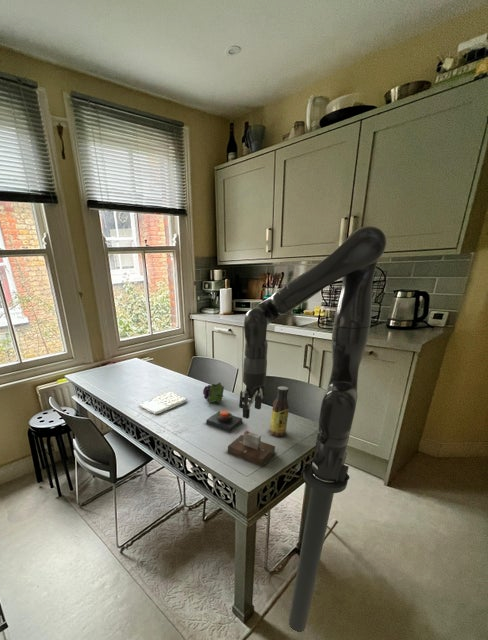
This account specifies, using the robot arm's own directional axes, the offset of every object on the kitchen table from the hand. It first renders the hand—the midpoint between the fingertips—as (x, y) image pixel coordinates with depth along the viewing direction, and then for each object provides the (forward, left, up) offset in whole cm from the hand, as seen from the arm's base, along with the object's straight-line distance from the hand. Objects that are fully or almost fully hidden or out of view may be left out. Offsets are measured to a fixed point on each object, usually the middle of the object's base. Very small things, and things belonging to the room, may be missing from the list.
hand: (252, 413), depth 110 cm
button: (+19, -13, -13) cm, 27 cm away
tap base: (-1, 0, -16) cm, 17 cm away
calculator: (+54, -12, -17) cm, 58 cm away
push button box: (+19, -13, -16) cm, 29 cm away
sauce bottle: (-3, -19, -17) cm, 25 cm away
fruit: (+36, -29, -17) cm, 49 cm away
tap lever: (-1, 0, -13) cm, 13 cm away
